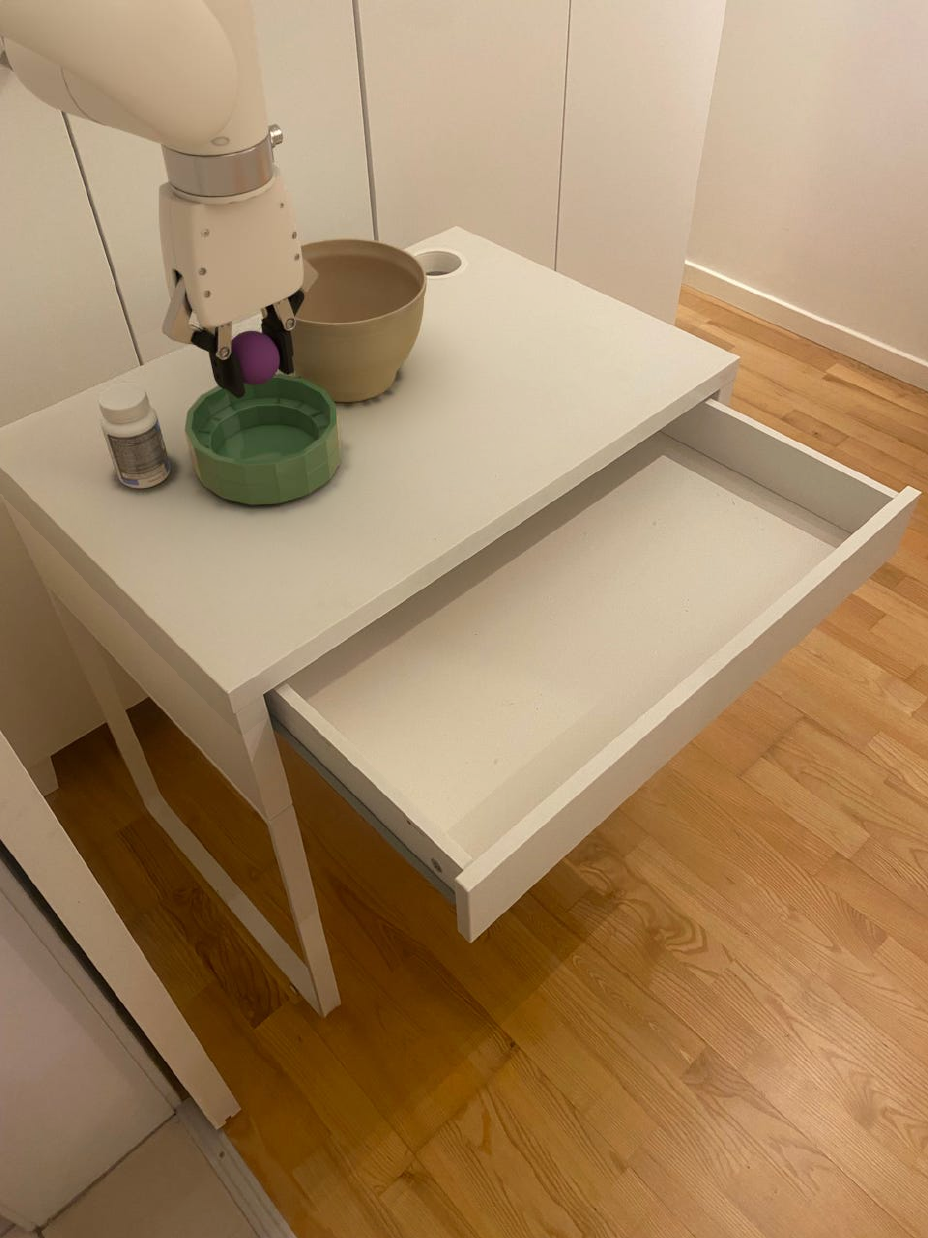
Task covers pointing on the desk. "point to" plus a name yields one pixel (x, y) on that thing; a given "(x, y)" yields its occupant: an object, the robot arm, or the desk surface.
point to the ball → (256, 356)
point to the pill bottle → (133, 435)
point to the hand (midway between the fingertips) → (256, 376)
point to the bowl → (264, 440)
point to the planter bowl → (357, 316)
